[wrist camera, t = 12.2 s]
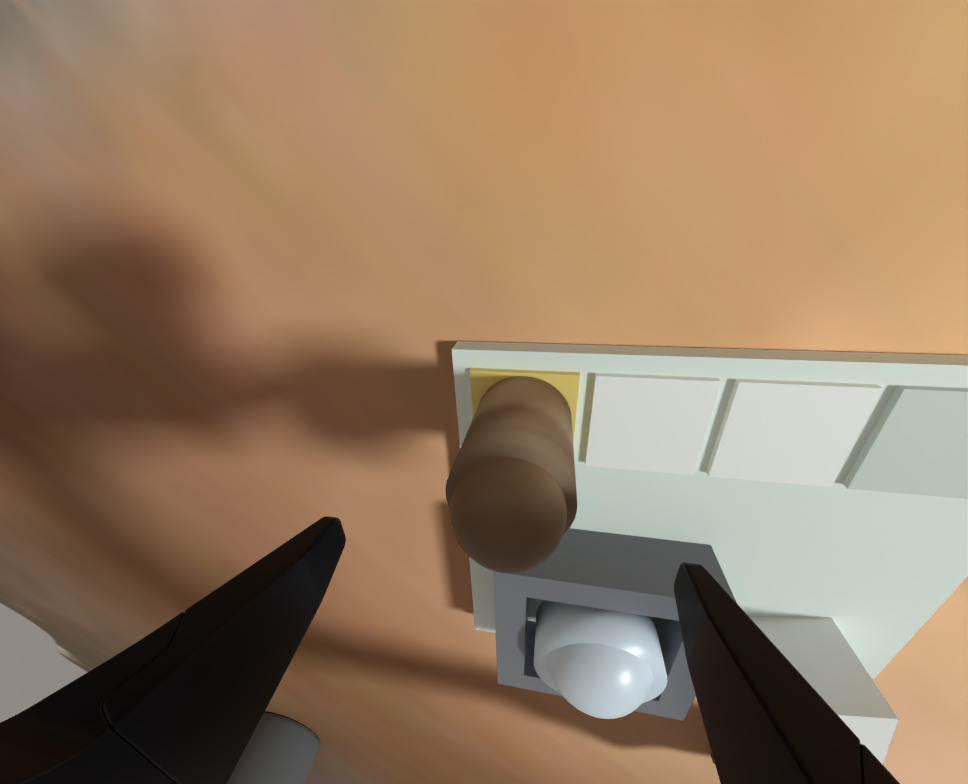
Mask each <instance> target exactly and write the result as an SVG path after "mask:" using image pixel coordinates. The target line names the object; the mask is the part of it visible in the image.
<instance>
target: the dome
mask: <svg viewBox="0 0 968 784" xmlns="http://www.w3.org/2000/svg"><path fill="white" fill-rule="evenodd" d="M534 667H535V670H536V672H537V674H538V676H539V677H540V678H541V679H542V680H543V681H544V682H545V683H546V684H547V685H548V686H549V687H551V688H552V689H554V690H555V691H557V692H559V693H560V694H561V695H562V696H563V697H564V698H565V699H566V700H567V701H568V702H569V703H570V704H571V705H573V706H574V707H575V708H576V709H578V710H580V711H581V712H583V713H585V714H587V715H590V716H593V717H596V718H601V719H615V718H619V717H623V716H626V715H628V714H630V713H631V712H633V711H634V710H636V709H637V708H638V707H639V706H640V705H641V704H642V703H645V702H648V701H650V700H652V699H654V698H656V697H657V696H659V695H660V694H661V693H662V692H663V691H664V689H665V687H666V685H667V673H666V669H665V665H664V660H663V656H662V652H661V647H660V643H659V638H658V634H657V630H656V626H655V622H654V620H653V618H652V617H650V616H644V615H638V614H631V613H625V612H618V611H612V610H605V609H599V608H592V607H586V606H580V605H573V604H567V603H560V602H554V601H547V600H544V601H543V602H542V603H541V604H540V606H539V607H538V610H537V614H536V628H535V646H534Z"/></svg>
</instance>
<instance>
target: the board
mask: <svg viewBox="0 0 968 784" xmlns="http://www.w3.org/2000/svg"><path fill="white" fill-rule="evenodd" d="M452 359H453V371H454V383H455V395H456V407H457V419H458V431H459V443H460V448H461V446H462V444H463V441H464V439H465V436H466V434H467V432H468V429H469V427H470V425H471V422H472V420H473V417H474V415H475V413H476V410H477V408H478V405H479V403H480V401H481V398H482V397H483V395H484V394H485V392H486V391H487V390H488V389H489V388H490V387H491V386H492V385H494V384H495V383H497V382H499V381H501V380H503V379H506V378H510V377H515V376H528V377H534V378H538V379H541V380H543V381H546V382H548V383H549V384H551V385H552V386H554V387H555V388H557V389H558V390H559V391H560V392H561V394H562V395H563V396H564V397H565V399H566V401H567V402H568V405H569V407H570V411H571V418H572V433H573V448H574V462H575V477H576V492H577V513H576V516H575V519H574V521H573V523H572V525H571V527H570V528H572V529H580V530H589V531H597V532H606V533H614V534H623V535H631V536H640V537H648V538H657V539H665V540H674V541H682V542H691V543H699V544H708V545H711V546H712V549H713V551H714V553H715V555H716V558H717V560H718V562H719V564H720V567H721V569H722V571H723V573H724V576H725V578H726V580H727V582H728V584H729V587H730V589H731V591H732V593H733V596H734V598H735V600H736V602H737V604H738V605H739V606H740V607H741V608H742V609H743V610H744V612H745V613H746V614H747V615H748V616H749V617H794V618H832V619H833V621H834V622H835V624H836V625H837V627H838V628H839V630H840V631H841V633H842V634H843V636H844V637H845V639H846V640H847V642H848V644H849V645H850V647H851V648H852V650H853V651H854V653H855V654H856V656H857V657H858V659H859V660H860V662H861V663H862V665H863V666H864V668H865V669H866V671H867V672H868V674H869V675H870V677H871V678H872V680H873V679H874V678H875V677H876V676H877V675H878V674H879V673H880V671H881V670H882V669H883V668H884V667H885V666H886V665H887V664H888V663H889V662H890V661H891V659H892V658H893V657H894V656H895V655H896V654H897V653H898V652H899V651H900V650H901V648H902V647H903V646H904V645H905V644H906V643H907V642H908V641H909V640H910V639H911V638H912V636H913V635H914V634H915V633H916V632H917V631H918V630H919V629H920V628H921V627H922V625H923V624H924V623H925V622H926V621H927V620H928V619H929V618H930V617H931V616H932V615H933V613H934V612H935V611H936V610H937V609H938V608H939V607H940V606H941V605H942V604H943V602H944V601H945V600H946V599H947V598H948V597H949V596H950V595H951V594H952V593H953V592H954V590H955V589H956V588H957V587H958V586H959V585H960V584H961V583H962V582H963V581H964V580H965V578H966V577H967V576H968V355H946V354H909V353H873V352H836V351H800V350H763V349H727V348H690V347H654V346H617V345H581V344H544V343H508V342H471V341H457V343H456V344H455V345H454V347H453V348H452ZM469 562H470V574H471V586H472V598H473V610H474V622H475V629H477V630H483V631H489V632H494V633H496V625H495V599H494V572H493V571H492V570H489V569H487V568H485V567H483V566H481V565H480V564H478V563H477V562H475V561H474V560H473V559H472V558H471V557H469ZM543 601H544V600H541V599H534V598H529V603H528V620H529V621H535V622H536V614H537V610H538V607H539V606H540V604H541V603H542V602H543ZM652 618H653V617H652Z"/></svg>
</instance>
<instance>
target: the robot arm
mask: <svg viewBox="0 0 968 784" xmlns="http://www.w3.org/2000/svg"><path fill="white" fill-rule="evenodd" d="M345 541H346V538H345V534H344V531H343V528H342V524H341V521H340V519H338V518H336V517H323V518H321V519H320V520H318V521H317V522H315V523H314V524H312V525H311V526H309V527H308V528H306V529H305V530H303V531H302V532H300V533H299V534H297V535H296V536H295V537H293V538H292V539H290V540H289V541H287V542H286V543H284V544H283V545H281V546H280V547H278V548H277V549H275V550H274V551H272V552H271V553H269V554H268V555H266V556H265V557H263V558H262V559H261V560H259V561H258V562H256V563H255V564H253V565H252V566H250V567H249V568H247V569H246V570H244V571H243V572H241V573H240V574H238V575H237V576H235V577H234V578H232V579H231V580H229V581H228V582H227V583H225V584H224V585H222V586H221V587H219V588H218V589H216V590H215V591H213V592H212V593H210V594H209V595H207V596H206V597H204V598H203V599H201V600H200V601H198V602H197V603H195V604H194V605H192V606H191V607H190V608H188V609H187V610H186V611H185V613H184V612H182V613H180V614H179V615H178V616H176V617H175V618H173V619H172V620H170V621H169V622H167V623H166V624H164V625H163V626H161V627H160V628H158V629H157V630H155V631H154V632H152V633H150V634H149V635H147V636H146V637H144V638H143V639H141V640H140V641H138V642H137V643H135V644H134V645H132V646H130V647H129V648H127V649H125V650H124V651H122V652H121V653H119V654H117V655H116V656H114V657H113V658H111V659H109V660H108V661H106V662H104V663H103V664H101V665H99V666H98V667H96V668H94V669H93V670H91V671H89V672H88V673H86V674H85V675H83V676H81V677H80V678H78V679H76V680H75V681H73V682H71V683H70V684H68V685H66V686H65V687H63V688H61V689H60V690H58V691H56V692H55V693H53V694H51V695H50V696H48V697H46V698H45V699H43V700H42V701H40V702H38V703H37V704H35V705H33V706H31V707H30V708H28V709H26V710H24V711H23V712H21V713H19V714H17V715H15V716H14V717H11V718H9V719H8V720H5V721H3V722H1V723H0V784H227V783H228V781H229V779H230V777H231V775H232V773H233V771H234V769H235V767H236V766H237V764H238V762H239V760H240V758H241V756H242V754H243V752H244V750H245V748H246V746H247V744H248V742H249V741H250V739H251V737H252V735H253V733H254V731H255V729H256V727H257V725H258V723H259V721H260V719H261V717H262V716H263V714H264V712H265V710H266V708H267V706H268V704H269V702H270V700H271V698H272V696H273V694H274V692H275V691H276V689H277V687H278V685H279V683H280V681H281V679H282V677H283V675H284V673H285V671H286V669H287V667H288V665H289V664H290V662H291V660H292V658H293V656H294V654H295V652H296V650H297V648H298V646H299V644H300V642H301V640H302V639H303V637H304V635H305V633H306V631H307V629H308V627H309V625H310V623H311V621H312V619H313V617H314V615H315V614H316V612H317V610H318V608H319V606H320V604H321V602H322V600H323V597H324V595H325V593H326V590H327V588H328V585H329V583H330V581H331V578H332V576H333V573H334V571H335V568H336V566H337V563H338V561H339V558H340V556H341V554H342V551H343V549H344V546H345ZM674 594H675V600H676V606H677V611H678V617H679V622H680V628H681V634H682V639H683V645H684V651H685V656H686V661H687V665H688V669H689V673H690V677H691V680H692V684H693V687H694V691H695V694H696V698H697V701H698V705H699V708H700V712H701V715H702V719H703V722H704V726H705V730H706V733H707V737H708V740H709V744H710V747H711V751H712V753H711V757H712V761H713V763H714V764H715V765H716V768H717V772H718V775H719V779H720V782H721V784H900V783H899V782H898V781H897V780H896V779H895V778H894V777H893V776H892V775H891V773H890V772H889V771H888V770H887V769H886V768H885V767H884V766H883V765H882V763H881V762H880V761H879V760H878V759H877V758H876V757H875V756H874V755H873V753H872V752H871V751H870V750H869V749H868V748H867V747H866V746H865V745H863V744H861V743H860V740H859V738H858V737H857V736H856V735H855V734H854V733H853V731H852V730H851V729H850V728H849V727H848V726H847V725H846V724H845V723H844V721H843V720H842V719H841V718H840V717H839V716H838V715H837V714H836V713H835V711H834V710H833V709H832V708H831V707H830V706H829V705H828V704H827V703H826V701H825V700H824V699H823V698H822V697H821V696H820V695H819V694H818V693H817V692H816V690H815V689H814V688H813V687H812V686H811V685H810V684H809V683H808V682H807V680H806V679H805V678H804V677H803V676H802V675H801V674H800V673H799V672H798V670H797V669H796V668H795V667H794V666H793V665H792V664H791V663H790V662H789V660H788V659H787V658H786V657H785V656H784V655H783V654H782V653H781V652H780V650H779V649H778V648H777V647H776V646H775V645H774V644H773V643H772V642H771V640H770V639H769V638H768V637H767V636H766V635H765V634H764V633H763V632H762V630H761V629H760V628H759V627H758V626H757V625H756V624H755V623H754V622H753V620H752V619H751V618H750V617H749V616H748V615H747V614H746V613H745V612H744V610H743V609H742V608H741V607H740V606H739V605H738V604H737V603H736V602H735V600H734V599H733V598H732V597H731V596H730V595H729V594H728V593H727V592H726V590H725V589H724V588H723V587H722V586H721V585H720V584H719V583H718V582H717V580H716V579H715V578H714V577H713V576H712V575H711V574H710V573H709V572H708V570H707V569H706V568H705V567H704V566H703V565H701V564H700V563H695V562H687V561H683V562H682V563H681V564H680V566H679V569H678V572H677V575H676V578H675V582H674Z"/></svg>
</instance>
